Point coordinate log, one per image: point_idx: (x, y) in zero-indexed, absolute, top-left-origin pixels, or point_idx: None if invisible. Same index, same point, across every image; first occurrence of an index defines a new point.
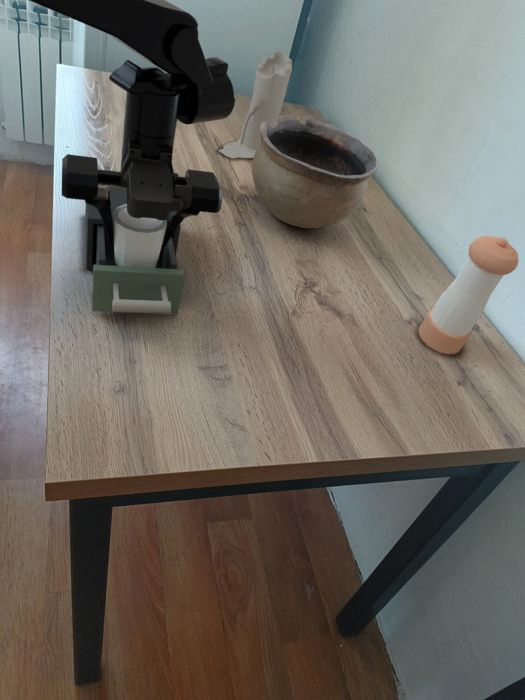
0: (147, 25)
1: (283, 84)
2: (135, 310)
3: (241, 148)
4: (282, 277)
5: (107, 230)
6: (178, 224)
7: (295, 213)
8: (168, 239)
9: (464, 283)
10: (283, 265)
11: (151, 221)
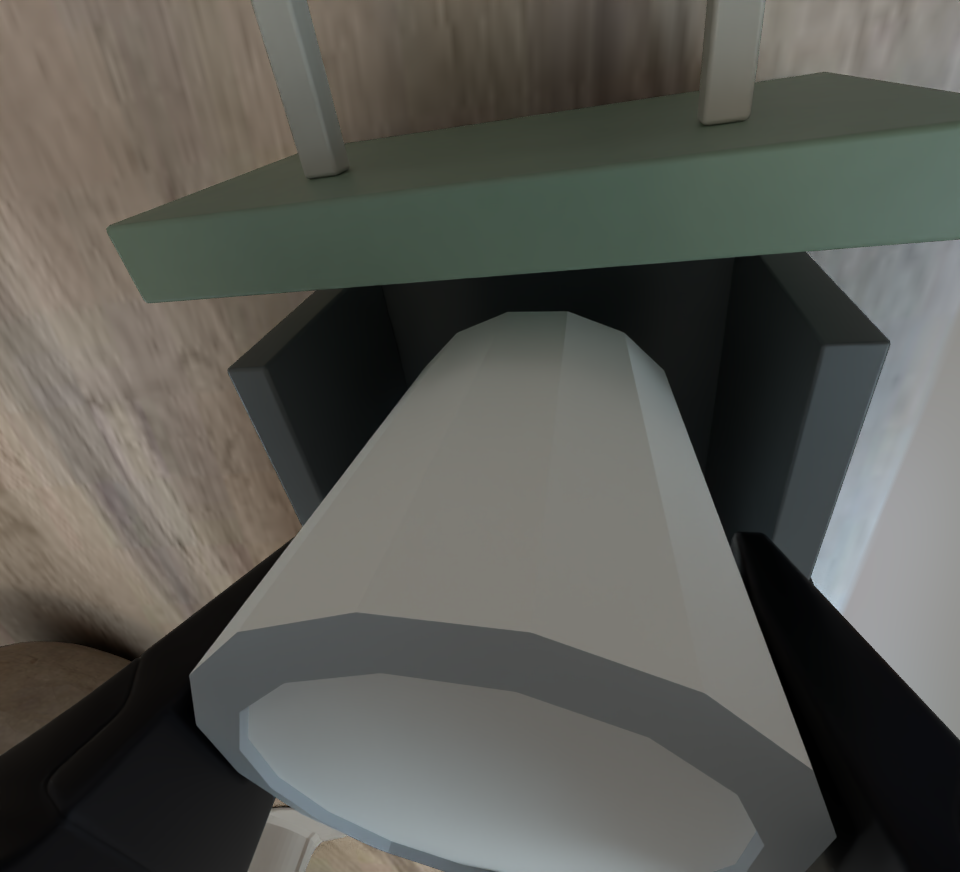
0: None
1: None
2: None
3: (308, 828)
4: (35, 463)
5: (852, 645)
6: (64, 717)
7: (24, 694)
8: (266, 563)
9: None
10: (60, 514)
11: (356, 754)
